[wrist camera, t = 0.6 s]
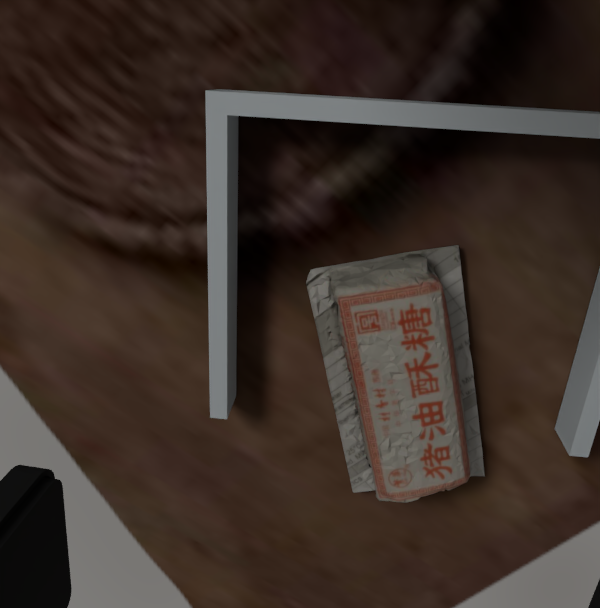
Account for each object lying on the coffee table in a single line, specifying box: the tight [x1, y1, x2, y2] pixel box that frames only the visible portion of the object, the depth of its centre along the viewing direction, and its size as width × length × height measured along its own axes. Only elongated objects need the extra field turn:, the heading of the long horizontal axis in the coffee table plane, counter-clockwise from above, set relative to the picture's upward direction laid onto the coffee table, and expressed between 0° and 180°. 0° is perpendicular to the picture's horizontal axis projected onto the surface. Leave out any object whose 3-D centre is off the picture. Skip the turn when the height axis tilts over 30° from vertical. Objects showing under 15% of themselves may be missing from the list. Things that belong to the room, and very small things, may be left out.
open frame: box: [206, 89, 600, 457], centre depth 35 cm, size 21×25×3 cm
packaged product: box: [306, 245, 485, 503], centre depth 37 cm, size 18×5×10 cm
